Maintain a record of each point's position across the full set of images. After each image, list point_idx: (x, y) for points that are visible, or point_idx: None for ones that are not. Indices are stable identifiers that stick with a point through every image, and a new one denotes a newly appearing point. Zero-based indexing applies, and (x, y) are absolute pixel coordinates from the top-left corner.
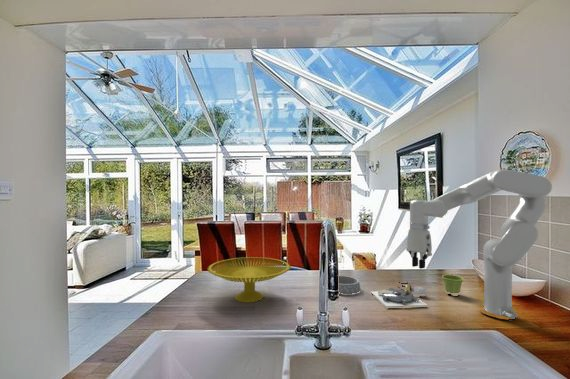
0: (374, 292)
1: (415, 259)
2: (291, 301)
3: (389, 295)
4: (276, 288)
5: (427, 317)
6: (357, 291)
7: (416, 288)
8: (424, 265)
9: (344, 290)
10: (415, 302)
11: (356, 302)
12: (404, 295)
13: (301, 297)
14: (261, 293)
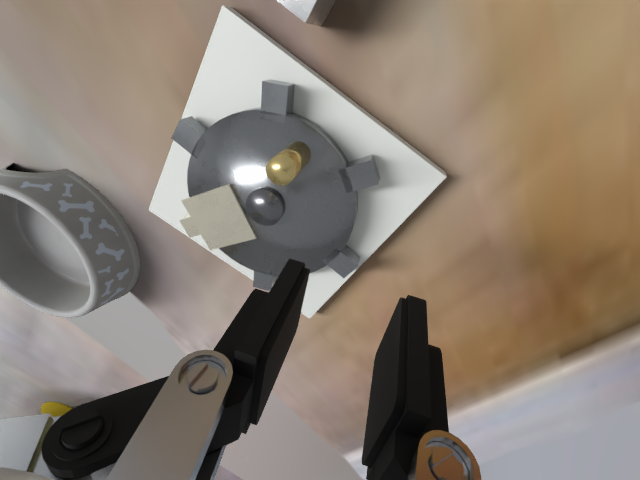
0: (166, 208)
1: (268, 384)
2: None
3: (258, 252)
4: (24, 360)
5: (483, 288)
6: (125, 246)
7: (285, 6)
8: (436, 367)
9: (114, 296)
10: (375, 190)
11: (208, 320)
12: (304, 198)
13: (109, 375)
14: (60, 406)
